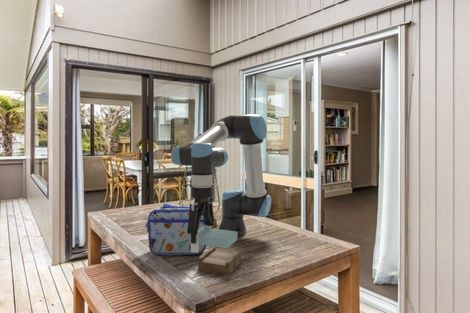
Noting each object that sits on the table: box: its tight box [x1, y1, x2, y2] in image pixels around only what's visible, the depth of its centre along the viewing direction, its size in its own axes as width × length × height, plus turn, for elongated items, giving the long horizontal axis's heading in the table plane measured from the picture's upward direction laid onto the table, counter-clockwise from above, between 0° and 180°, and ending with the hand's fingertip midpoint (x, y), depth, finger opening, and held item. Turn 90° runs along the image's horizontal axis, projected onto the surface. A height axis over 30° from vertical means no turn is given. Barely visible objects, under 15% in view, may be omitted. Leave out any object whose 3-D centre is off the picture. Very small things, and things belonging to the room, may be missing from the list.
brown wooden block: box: [197, 246, 242, 277], centre depth 132 cm, size 14×13×5 cm
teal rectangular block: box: [190, 227, 238, 249], centre depth 115 cm, size 14×10×3 cm
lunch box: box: [144, 203, 207, 256], centre depth 145 cm, size 28×10×22 cm, turn 92°
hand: (201, 247), depth 117 cm, fingers closed on teal rectangular block, 10 cm apart
